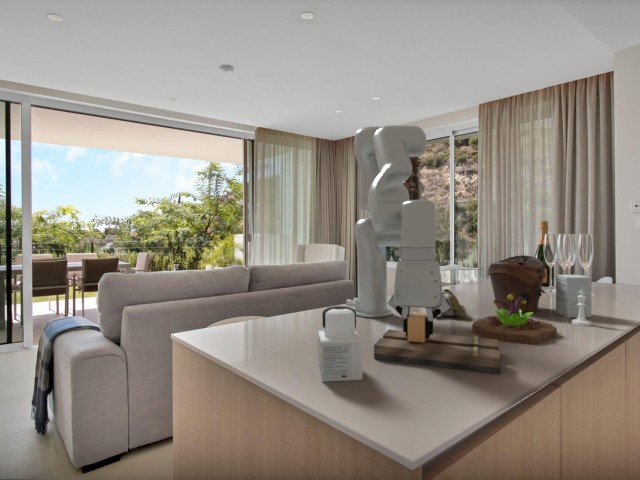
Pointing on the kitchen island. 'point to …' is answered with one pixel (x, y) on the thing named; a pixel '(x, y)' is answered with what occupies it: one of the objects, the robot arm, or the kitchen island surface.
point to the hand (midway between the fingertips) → (418, 335)
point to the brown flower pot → (518, 281)
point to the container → (339, 346)
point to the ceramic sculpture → (452, 305)
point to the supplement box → (572, 294)
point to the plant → (514, 325)
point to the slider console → (441, 351)
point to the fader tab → (416, 327)
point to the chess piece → (581, 312)
